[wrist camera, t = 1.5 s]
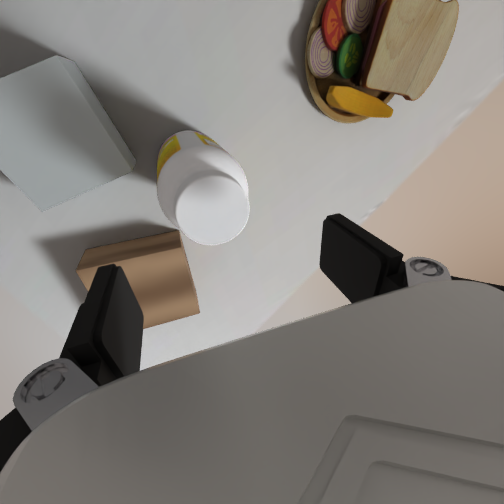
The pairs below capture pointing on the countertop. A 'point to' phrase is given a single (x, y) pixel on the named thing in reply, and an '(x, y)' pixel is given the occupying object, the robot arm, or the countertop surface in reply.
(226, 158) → the supplement bottle
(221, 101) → the countertop surface
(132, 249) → the walnut block
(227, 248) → the countertop surface
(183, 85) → the countertop surface
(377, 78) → the toy sandwich meal
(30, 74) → the slate block
